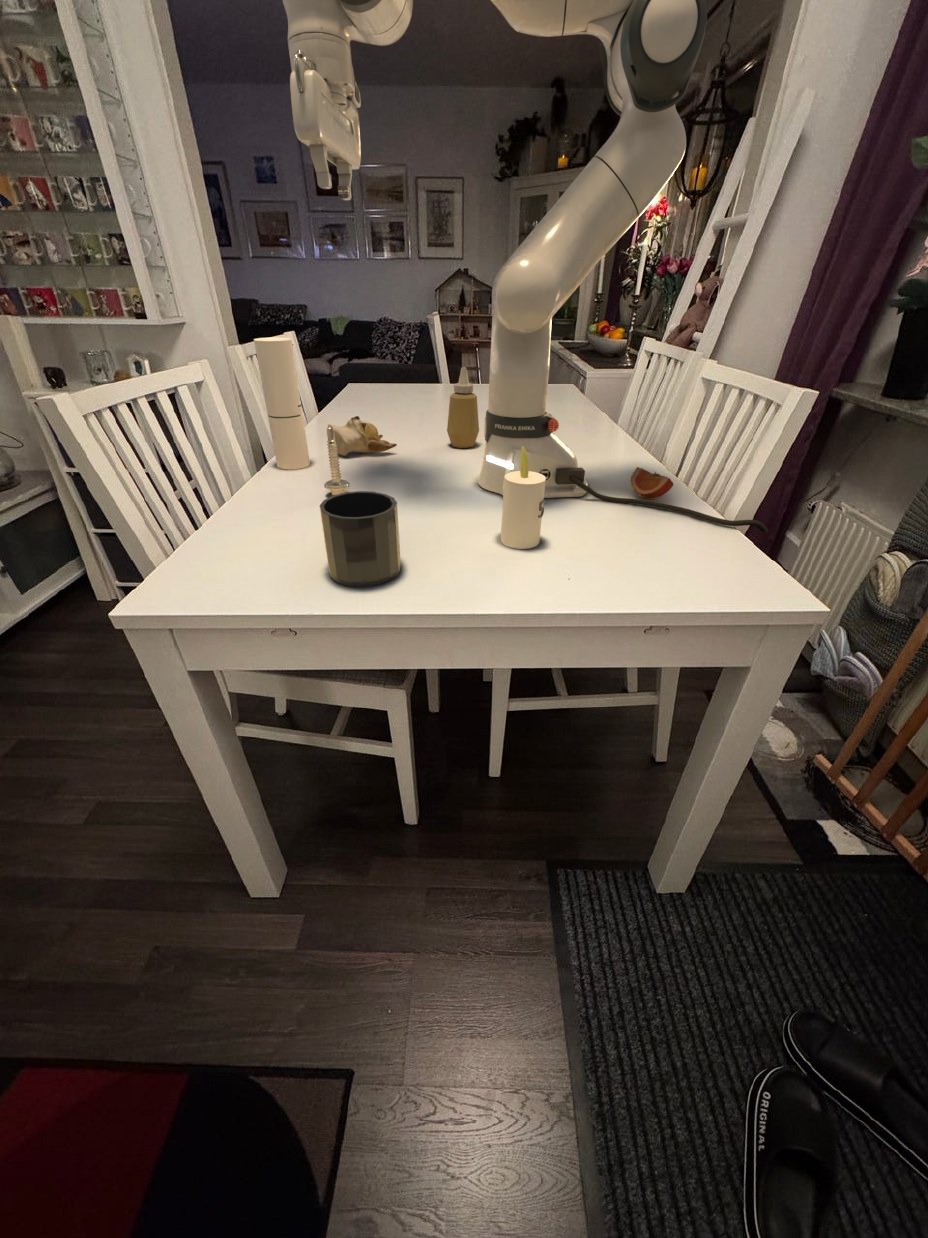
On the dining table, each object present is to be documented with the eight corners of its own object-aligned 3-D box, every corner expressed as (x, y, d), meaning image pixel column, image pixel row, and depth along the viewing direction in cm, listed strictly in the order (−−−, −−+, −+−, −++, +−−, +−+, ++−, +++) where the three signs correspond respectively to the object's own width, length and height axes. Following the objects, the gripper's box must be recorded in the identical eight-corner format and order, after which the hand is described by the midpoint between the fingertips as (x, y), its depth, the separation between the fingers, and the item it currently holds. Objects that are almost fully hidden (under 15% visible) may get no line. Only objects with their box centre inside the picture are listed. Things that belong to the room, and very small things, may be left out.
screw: (328, 500, 99) (323, 492, 102) (353, 497, 100) (347, 489, 104) (318, 429, 92) (313, 423, 95) (345, 427, 93) (340, 421, 97)
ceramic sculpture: (320, 412, 122) (381, 410, 128) (323, 449, 126) (381, 446, 133) (334, 422, 114) (398, 419, 120) (336, 461, 119) (397, 457, 125)
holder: (405, 555, 80) (401, 492, 74) (393, 588, 71) (388, 520, 66) (339, 552, 80) (331, 489, 75) (320, 585, 72) (309, 517, 66)
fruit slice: (621, 492, 105) (625, 467, 102) (645, 487, 107) (651, 463, 104) (651, 506, 98) (657, 480, 96) (677, 500, 101) (683, 475, 98)
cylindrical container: (314, 460, 120) (296, 337, 106) (303, 470, 114) (283, 341, 100) (284, 459, 120) (262, 336, 107) (271, 468, 114) (247, 340, 101)
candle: (530, 552, 81) (539, 456, 73) (493, 542, 84) (498, 448, 76) (546, 538, 86) (557, 445, 77) (511, 529, 88) (518, 439, 80)
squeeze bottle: (446, 441, 135) (445, 365, 125) (477, 441, 136) (479, 365, 126) (448, 450, 128) (447, 370, 118) (480, 449, 129) (482, 370, 119)
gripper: (316, 41, 67) (332, 178, 74) (363, 96, 85) (372, 204, 92) (270, 45, 68) (290, 181, 75) (326, 99, 86) (338, 205, 93)
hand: (335, 193), depth 84 cm, fingers open, 8 cm apart
